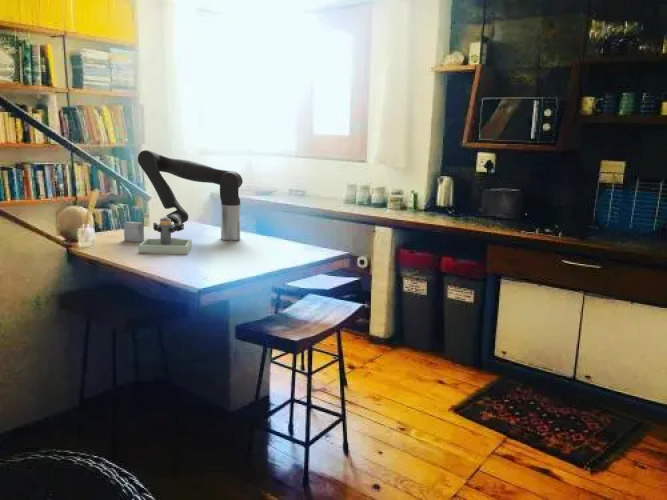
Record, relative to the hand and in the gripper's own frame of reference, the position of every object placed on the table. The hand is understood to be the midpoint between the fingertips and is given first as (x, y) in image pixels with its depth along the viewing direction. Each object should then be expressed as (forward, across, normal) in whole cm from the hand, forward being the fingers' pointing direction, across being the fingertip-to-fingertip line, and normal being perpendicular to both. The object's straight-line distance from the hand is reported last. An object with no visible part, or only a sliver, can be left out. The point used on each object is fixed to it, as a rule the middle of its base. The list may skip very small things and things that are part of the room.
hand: (164, 229), depth 243 cm
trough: (-2, 0, +10) cm, 10 cm away
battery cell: (-2, 0, +6) cm, 7 cm away
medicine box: (-22, -18, +10) cm, 30 cm away
